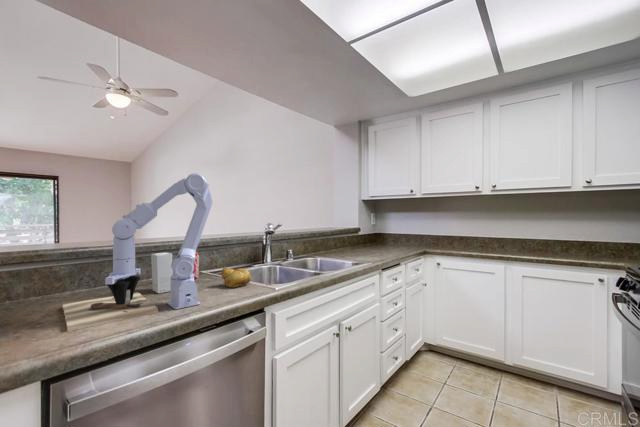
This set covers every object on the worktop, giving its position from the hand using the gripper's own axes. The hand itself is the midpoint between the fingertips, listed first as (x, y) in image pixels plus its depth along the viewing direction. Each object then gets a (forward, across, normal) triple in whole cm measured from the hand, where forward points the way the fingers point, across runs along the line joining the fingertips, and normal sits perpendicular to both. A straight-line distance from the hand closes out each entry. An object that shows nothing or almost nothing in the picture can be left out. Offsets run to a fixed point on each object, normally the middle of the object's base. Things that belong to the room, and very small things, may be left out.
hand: (124, 302), depth 89 cm
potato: (+3, -32, +28) cm, 43 cm away
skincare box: (+3, -25, 0) cm, 25 cm away
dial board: (+3, -2, -6) cm, 7 cm away
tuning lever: (+1, 0, -3) cm, 3 cm away
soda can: (+3, -41, +5) cm, 41 cm away
